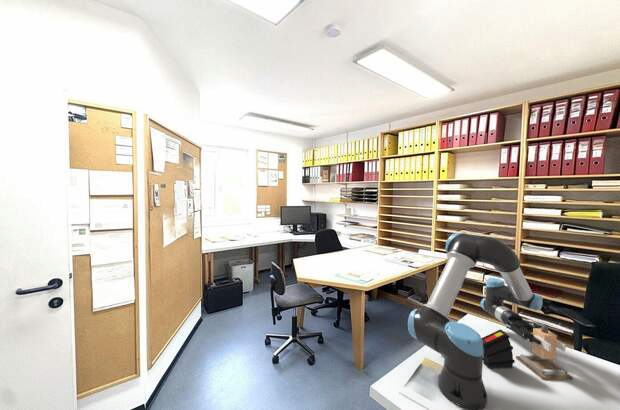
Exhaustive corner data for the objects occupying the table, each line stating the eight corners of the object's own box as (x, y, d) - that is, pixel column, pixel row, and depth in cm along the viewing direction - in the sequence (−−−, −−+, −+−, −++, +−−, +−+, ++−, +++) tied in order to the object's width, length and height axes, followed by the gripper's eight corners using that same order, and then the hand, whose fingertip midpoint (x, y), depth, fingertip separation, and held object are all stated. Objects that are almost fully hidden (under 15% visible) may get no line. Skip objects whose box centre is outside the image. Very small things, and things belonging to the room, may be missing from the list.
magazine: (521, 365, 99) (508, 333, 98) (493, 378, 99) (479, 347, 98) (513, 358, 103) (500, 328, 102) (486, 371, 103) (473, 341, 102)
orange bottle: (543, 359, 97) (544, 328, 97) (531, 351, 102) (533, 321, 102) (555, 359, 97) (557, 328, 97) (543, 351, 102) (545, 321, 102)
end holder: (541, 379, 94) (542, 373, 94) (515, 358, 106) (516, 352, 106) (572, 379, 94) (572, 373, 94) (543, 358, 106) (543, 353, 106)
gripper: (526, 325, 117) (579, 357, 94) (490, 324, 118) (533, 357, 94) (527, 310, 117) (580, 339, 94) (490, 310, 117) (534, 338, 94)
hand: (557, 348), depth 94 cm, fingers closed on orange bottle, 5 cm apart
